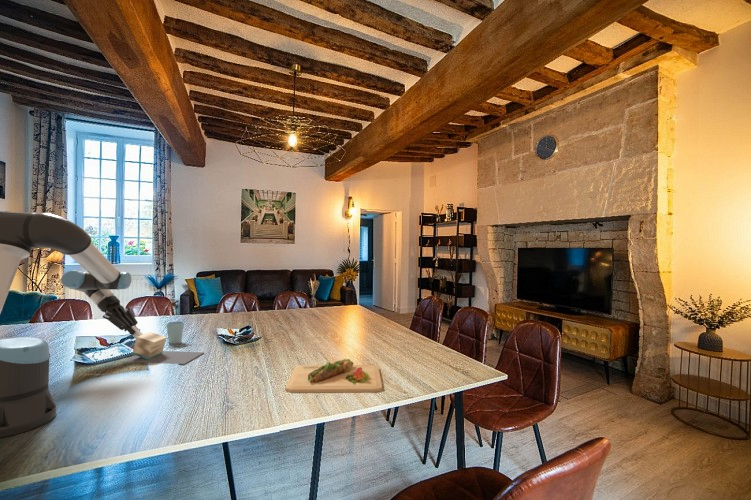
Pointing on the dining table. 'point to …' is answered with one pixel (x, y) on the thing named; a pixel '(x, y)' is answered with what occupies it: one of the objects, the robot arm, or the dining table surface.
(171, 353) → the rubber mat
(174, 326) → the cup
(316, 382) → the cutting board
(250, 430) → the dining table surface
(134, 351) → the maple cube
